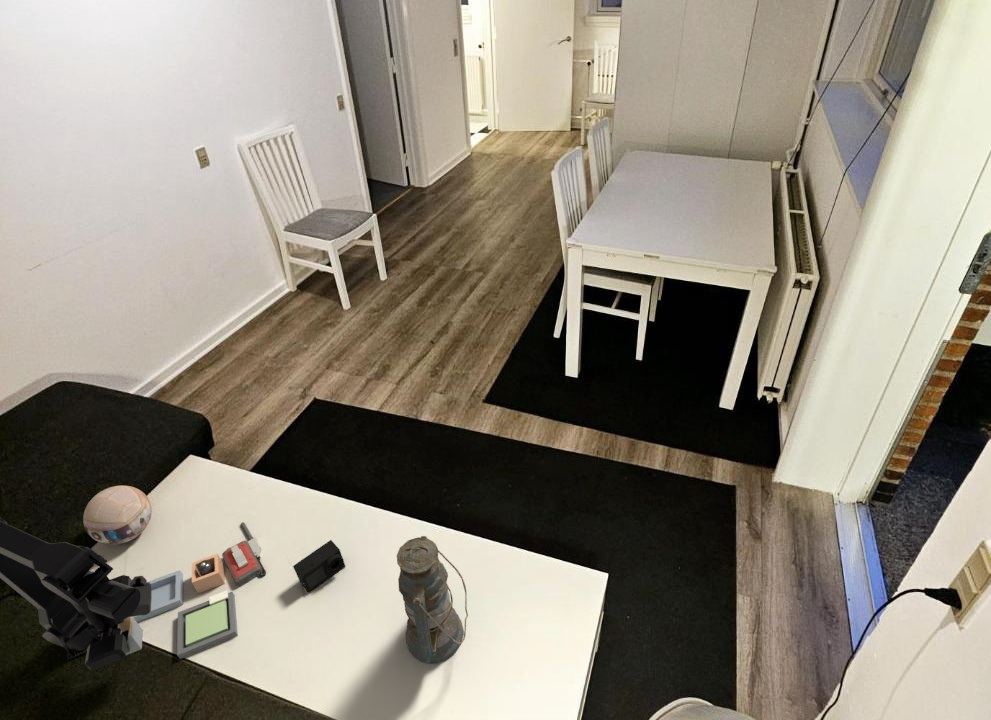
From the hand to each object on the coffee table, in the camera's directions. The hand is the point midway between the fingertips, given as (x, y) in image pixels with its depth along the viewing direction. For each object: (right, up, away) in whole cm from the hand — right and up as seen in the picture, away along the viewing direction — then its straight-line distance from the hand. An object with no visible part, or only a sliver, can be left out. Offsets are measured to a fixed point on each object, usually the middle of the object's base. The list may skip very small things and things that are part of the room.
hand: (128, 641), depth 118 cm
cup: (+6, +4, +22) cm, 23 cm away
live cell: (0, -1, +1) cm, 1 cm away
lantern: (+64, -2, +8) cm, 65 cm away
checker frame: (+11, -3, +12) cm, 16 cm away
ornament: (-22, +12, +36) cm, 44 cm away
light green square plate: (+11, -1, +11) cm, 16 cm away
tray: (-5, +1, +18) cm, 19 cm away
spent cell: (+6, +5, +22) cm, 23 cm away
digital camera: (+35, +5, +21) cm, 41 cm away
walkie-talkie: (+12, +8, +28) cm, 31 cm away
